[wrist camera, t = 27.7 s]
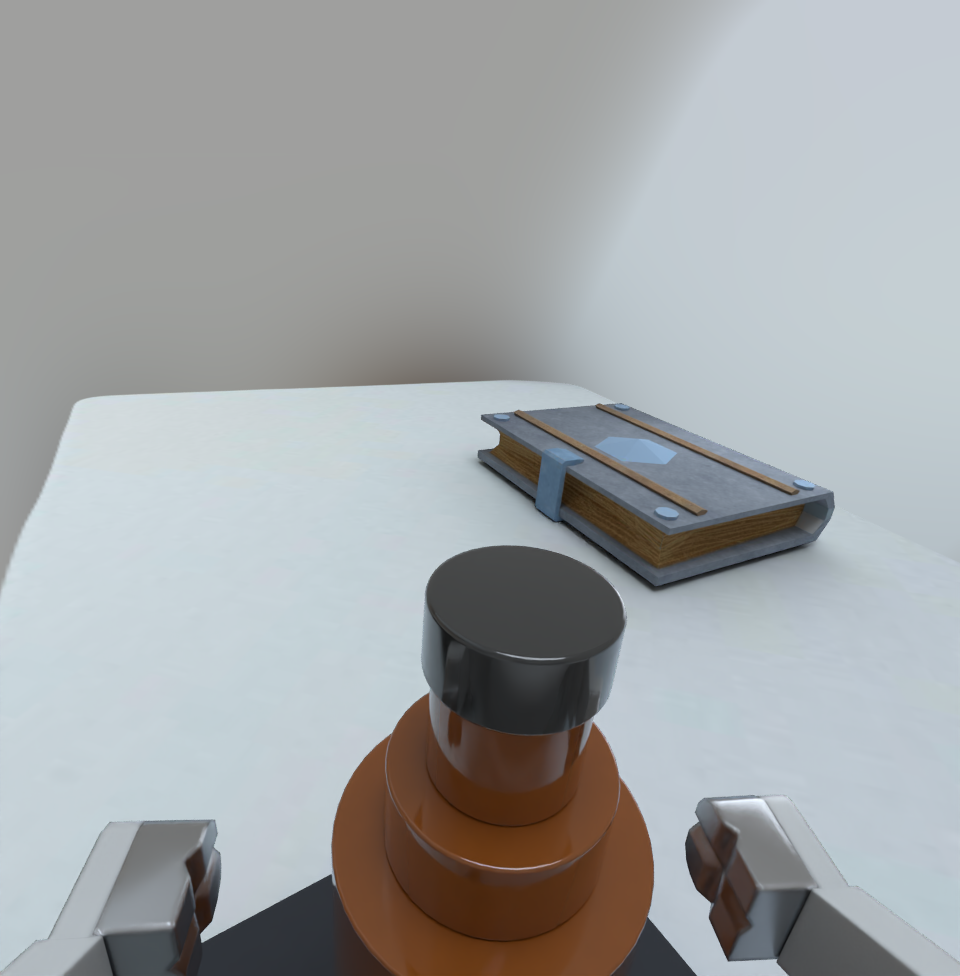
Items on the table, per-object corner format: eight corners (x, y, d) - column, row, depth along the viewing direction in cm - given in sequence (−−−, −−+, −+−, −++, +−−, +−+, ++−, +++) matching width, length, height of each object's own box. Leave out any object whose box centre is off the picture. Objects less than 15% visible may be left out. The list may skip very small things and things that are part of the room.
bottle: (405, 1377, 10) (468, 846, 5) (303, 1047, 14) (271, 546, 9) (619, 1146, 13) (815, 647, 7) (485, 925, 17) (549, 488, 11)
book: (821, 543, 42) (845, 478, 40) (649, 594, 34) (668, 515, 32) (620, 443, 58) (630, 393, 56) (472, 462, 50) (477, 404, 48)
